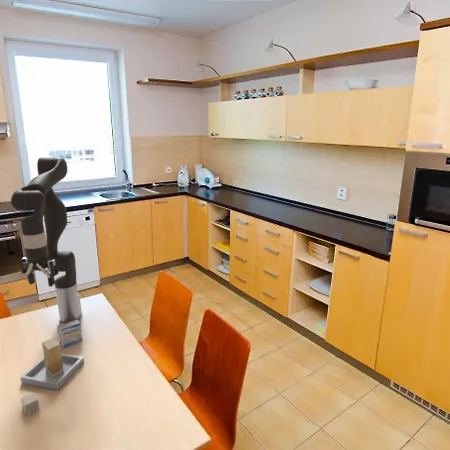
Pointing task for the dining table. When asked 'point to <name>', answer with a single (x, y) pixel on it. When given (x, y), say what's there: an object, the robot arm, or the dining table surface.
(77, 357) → the tray
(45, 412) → the dining table surface
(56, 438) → the dining table surface
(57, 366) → the skincare box
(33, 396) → the usb wall charger
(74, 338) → the medicine box
